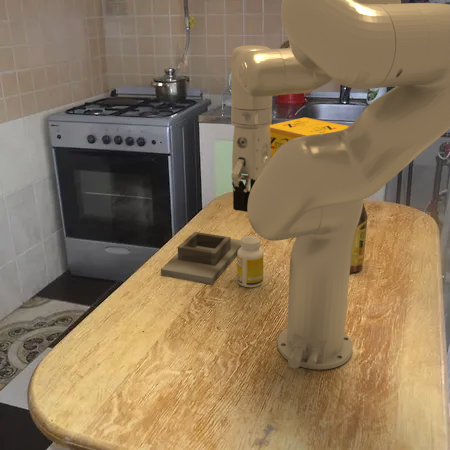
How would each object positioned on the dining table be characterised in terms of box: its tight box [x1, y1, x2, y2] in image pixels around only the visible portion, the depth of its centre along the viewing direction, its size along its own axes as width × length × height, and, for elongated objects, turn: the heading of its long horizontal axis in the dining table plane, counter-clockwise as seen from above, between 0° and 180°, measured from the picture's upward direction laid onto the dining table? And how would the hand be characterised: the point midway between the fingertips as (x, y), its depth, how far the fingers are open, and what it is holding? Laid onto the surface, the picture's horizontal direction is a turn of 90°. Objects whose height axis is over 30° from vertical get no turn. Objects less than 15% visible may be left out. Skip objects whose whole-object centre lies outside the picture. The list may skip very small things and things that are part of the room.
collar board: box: [160, 231, 241, 285], centre depth 124 cm, size 20×12×4 cm, turn 158°
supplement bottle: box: [236, 235, 264, 288], centre depth 114 cm, size 5×5×10 cm
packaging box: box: [270, 117, 350, 158], centre depth 143 cm, size 16×16×25 cm
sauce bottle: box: [350, 202, 369, 274], centre depth 118 cm, size 7×6×20 cm
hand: (250, 201), depth 109 cm, fingers open, 9 cm apart
